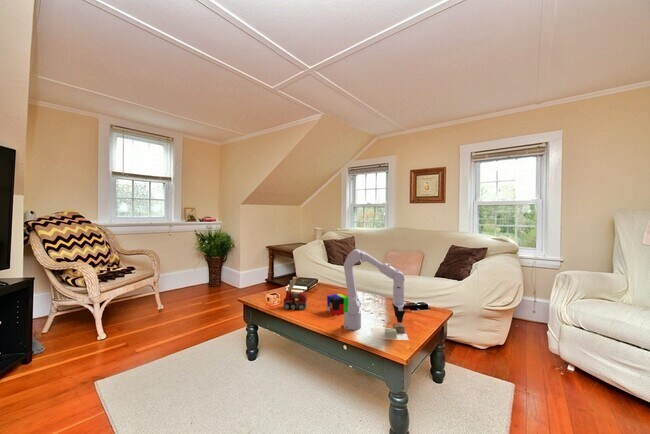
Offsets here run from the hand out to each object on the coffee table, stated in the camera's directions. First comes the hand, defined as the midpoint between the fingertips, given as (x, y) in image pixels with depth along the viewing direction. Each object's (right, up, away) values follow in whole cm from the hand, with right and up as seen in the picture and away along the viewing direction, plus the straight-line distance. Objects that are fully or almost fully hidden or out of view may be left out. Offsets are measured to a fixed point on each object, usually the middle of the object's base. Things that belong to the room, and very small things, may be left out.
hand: (398, 319), depth 146 cm
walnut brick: (0, -6, 0) cm, 6 cm away
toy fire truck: (-59, -7, +42) cm, 73 cm away
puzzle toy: (-31, -7, +32) cm, 45 cm away
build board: (-6, -7, -3) cm, 10 cm away
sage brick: (-6, -6, -6) cm, 10 cm away
